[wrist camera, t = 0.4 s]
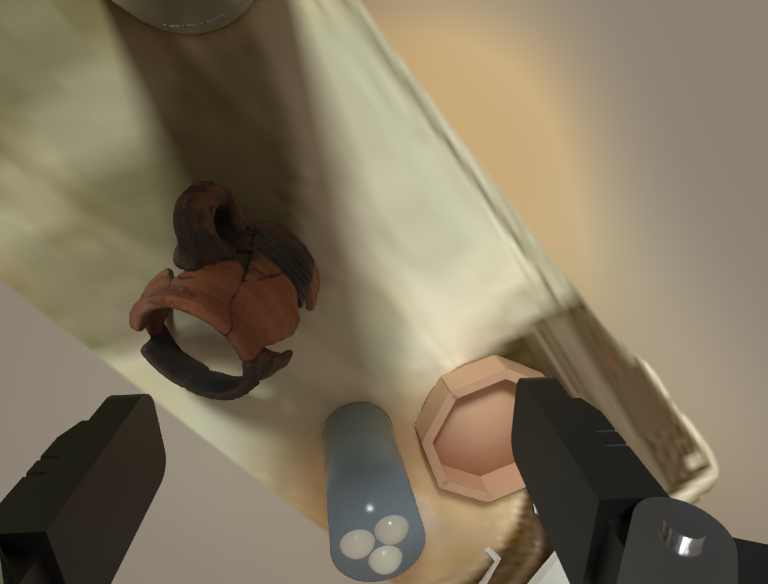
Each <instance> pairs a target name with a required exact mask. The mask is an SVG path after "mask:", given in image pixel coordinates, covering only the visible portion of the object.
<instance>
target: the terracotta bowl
mask: <svg viewBox="0 0 768 584" xmlns="http://www.w3.org/2000/svg"><path fill="white" fill-rule="evenodd" d="M441 377H442V378H441ZM441 377H440V378H439V380H438V382H437V383H436V385H435V387H434V388H433V389H432V390H431V392H430V393H429V395H428V397H427V398H426V400H425V402H424V405H423V407H422V410H421V413H420V415H419V417H418V419H417V421H416V423H415V427H416V430H417V432H418V435H419V438H420V440H421V443H422V445H423V448H424V450H425V453H426V455H427V458H428V460H429V463H430V466H431V468H432V471H433V473H434V476H435V478H436V481H437V483H438V486H439V487H440V489H444V490H447V491H450V492H454V493H457V494H461V495H464V496H467V497H471V498H474V499H478V500H481V501H485V502H488V501H489V502H491V501H493V500H496V499H498V498H501V497H503V496H505V495H508V494H510V493H513V492H515V491H517V490H520V489H522V488H525V487H526V486H525V484H524V481H523V479H522V477H521V475H520V472H519V470H518V468H517V466H516V463H515V461H514V457H513V453H512V446H511V431H512V422H513V412H514V403H515V393H516V385H517V382H518V380H519V379H520V378H529V377H545V376H544V375H543V374H542V373H541V372H538V371H536V370H533V369H531V368H528V367H526V366H524V365H522V364H520V363H518V362H515V361H512V360H509V359H505V358H503V357H500V356H498V355H495V356H494V355H492V356H489V357H487V358H484V359H479V360H475V361H472V362H469V363H466V364H464V365H462V366H460V367H457V368H456V369H454V370H453V371H451V372H450V373H447V374H445V375H442V376H441Z"/></svg>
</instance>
